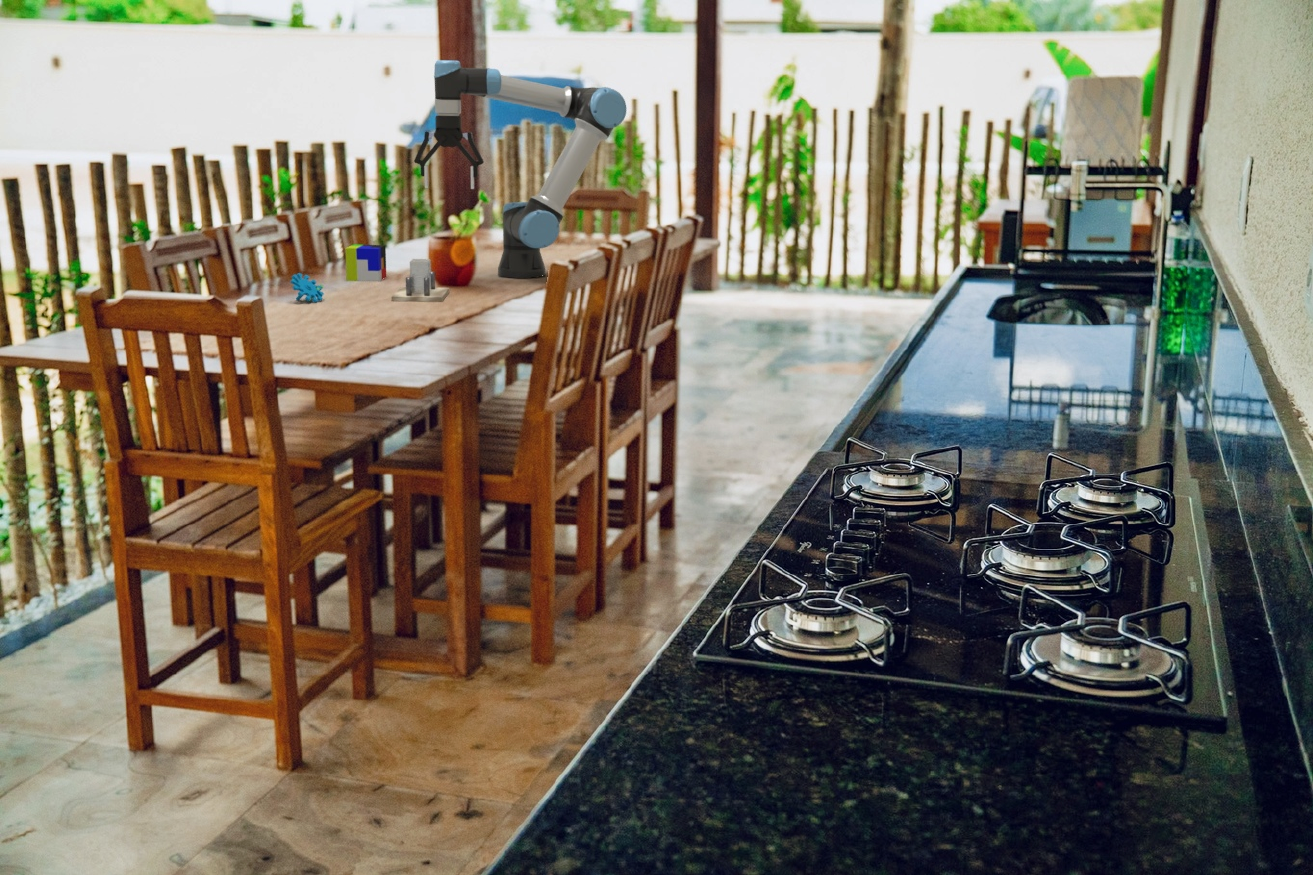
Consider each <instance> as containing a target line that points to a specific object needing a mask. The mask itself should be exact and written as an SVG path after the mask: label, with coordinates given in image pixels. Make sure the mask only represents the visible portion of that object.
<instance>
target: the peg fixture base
mask: <svg viewBox="0 0 1313 875" xmlns="http://www.w3.org/2000/svg"><path fill="white" fill-rule="evenodd" d="M435 273H436V272H435V271H432V270H431V291H430V279H429V278H424V294H412V278H411V277H410V276H408V277H405V286H400V288H398V289H397V290H396V292H394V293H393V294H392V295H391V298H390V299H391V302H428V303H429V302H435V303H436V302H437V303H439V302H441V303H442V302H443V301H444V299H446V297H447V295H449V293H450V287H436V274H435Z"/></svg>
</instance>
